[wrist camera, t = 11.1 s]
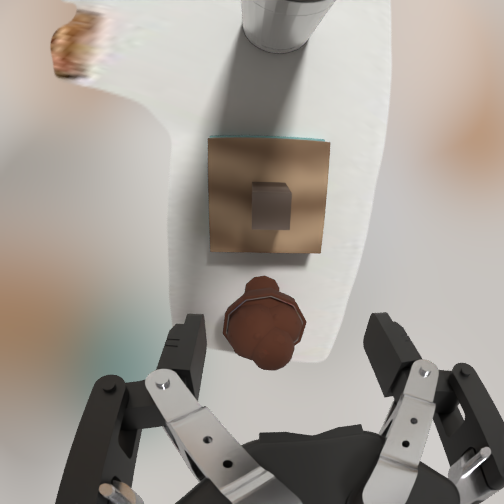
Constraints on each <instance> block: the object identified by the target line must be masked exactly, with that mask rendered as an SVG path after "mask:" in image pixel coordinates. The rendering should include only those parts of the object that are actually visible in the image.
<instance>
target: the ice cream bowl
mask: <svg viewBox="0 0 504 504" xmlns="http://www.w3.org/2000/svg"><path fill="white" fill-rule="evenodd" d="M305 325H306V320H305V318H304V316H303V314H302V313H301V311H300V309H299V307H298V305H297V303H296V302H295V300H294V298H292V297H290V296H288V295H286V294H284V293H281V292H279V287H278V285H277V283H276V281H275V280H274V279H271V278H269V277H267V276H260V277H254V278H253V279H252V280H250V281H249V282H248V283H247V284H246V288H245V293H244V294H243V295H242V296H241V297H240V298H239V299H237V300H236V301H235V302H234V303H233V304H232V305H231V306H229V307H228V309H227V311H226V313H225V319H224V328H223V335H224V336H225V337H226V339H227V340H228V342H229V343H230V345H231V346H232V347H233V349H234V351H235V353H237V354H238V355H239V356H242V357H244V358H247V359H250V360H253V361H254V362H255V363H256V365H257V366H258V367H259V368H261V369H263V370H278V369H280V368H282V367H284V366H285V365H286V364H287V363H288V362H289V361H290V360H291V358H292V355H293V352H294V346H295V345H296V344H297V343H299V342H300V341H301V338H302V335H303V332H304V328H305Z"/></svg>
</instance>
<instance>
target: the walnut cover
mask: <svg viewBox="0 0 504 504" xmlns="http://www.w3.org/2000/svg"><path fill="white" fill-rule="evenodd" d="M329 156H330V142H324V141H314V140H300V139H281V138H246V137H224V138H208V192H209V227H210V252H256V253H321V245H322V237H323V227H324V218H325V207H326V196H327V184H328V171H329Z"/></svg>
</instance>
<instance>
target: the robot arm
mask: <svg viewBox="0 0 504 504" xmlns="http://www.w3.org/2000/svg"><path fill="white" fill-rule="evenodd" d="M335 1H336V0H241V8H242V22H243V29H244V33H245V35H246V37H247V38H248V39H249V41H250V42H251V43H252V44H254V45H255V46H256V47H258V48H260V49H262V50H265V51H268V52H272V53H287V52H292V51H294V50H296V49H298V48H300V47H301V46H303V45H304V44H305V43H306V41H307V40H308V39H309V37H310V36H311V34H312V33H313V32H314V30H315V29H316V27H317V26H318V24H319V23H320V22H321V20H322V19H323V17H324V16H325V14H326V13H327V12H328V10H329V9H330V7H331V6H332V5H333V3H334V2H335ZM363 343H364V349H365V352H366V354H367V356H368V359H369V361H370V363H371V366H372V368H373V370H374V372H375V375H376V378H377V380H378V382H379V385H380V387H381V390H382V392H383V395H384V397H389V396H393V397H394V401H393V403H392V405H391V407H390V410H389V412H388V415H387V417H386V419H385V421H384V424H383V426H382V428H381V430H380V432H379V434H376V433H373V432H369V431H363V429H362V426H361V424H359V425H353V426H345V427H338V428H335V429H332V430H329V431H326V432H323V433H321V434H318V435H313V436H311V435H303V434H295V433H289V432H270V433H260V434H259V439H258V440H254V441H251V442H248V443H246V444H243V445H240V444H239V443H238V442H237V441H236V440H235V438H234V437H233V436H232V435H231V434H230V433H229V432H228V431H227V429H226V428H225V427H224V426H223V425H222V424H221V422H220V421H219V420H218V419H217V418H216V417H215V416H214V414H213V413H212V412H211V411H210V409H209V408H207V407H206V406H204V407H202V406H201V405H200V404H199V403H198V397H199V391H200V385H201V379H202V373H203V367H204V361H205V355H206V346H207V341H206V330H205V320H204V315H203V314H187V317H186V320H185V323H184V324H176V325H175V326H174V327H173V328H172V329H171V330H170V331H169V334H168V337H167V340H166V342H165V346H164V348H163V351H162V354H161V357H160V360H159V363H158V366H157V369H156V370H155V371H153V372H151V373H150V374H149V375H148V376H147V378H146V379H145V380H142V381H137V382H129V383H125V382H124V380H123V379H122V378H121V377H119V376H117V375H106V376H103V377H101V378H100V379H98V380H97V381H96V383H95V384H94V387H93V389H92V392H91V394H90V397H89V399H88V402H87V405H86V407H85V410H84V413H83V415H82V418H81V421H80V423H79V426H78V429H77V432H76V435H75V438H74V441H73V444H72V447H71V450H70V453H69V456H68V459H67V463H66V466H65V469H64V473H63V476H62V480H61V483H60V487H59V491H58V494H57V498H56V503H55V504H144V502H143V500H142V498H141V497H140V496H139V495H137V493H136V492H134V491H133V490H132V489H131V487H132V481H133V475H134V469H135V463H136V458H137V452H138V447H139V442H140V436H141V432H142V429H144V428H152V427H159V426H162V427H163V429H164V430H165V432H166V433H167V435H168V436H169V438H170V439H171V441H172V443H173V444H174V446H175V447H176V449H177V450H178V452H179V453H180V455H181V456H182V458H183V460H184V461H185V463H186V465H187V466H188V468H189V469H190V470H191V472H192V473H193V475H194V476H195V477H196V479H197V480H198V481H199V483H198V484H197V485H196V486H195V487H194V488H193V489H192V490H191V491H190V492H188V493H187V494H186V495H185V496H184V497H182V498H181V499H180V500H179V501H178V502H176V503H175V504H479V503H481V502H483V501H484V500H486V499H487V498H489V497H490V496H492V495H493V494H495V493H496V492H497V491H499V490H500V489H502V488H503V487H504V422H503V420H502V418H501V416H500V414H499V412H498V410H497V408H496V406H495V404H494V403H493V401H492V399H491V397H490V396H489V394H488V392H487V390H486V388H485V387H484V385H483V383H482V382H481V380H480V378H479V377H478V375H477V373H476V371H475V370H474V369H473V367H471V366H470V365H468V364H466V363H458V364H456V365H455V366H454V367H453V369H452V371H444V370H438V368H437V366H436V365H435V364H434V363H432V362H431V361H428V360H423V359H422V358H421V356H420V354H419V353H418V351H417V349H416V348H415V346H414V345H413V343H412V341H411V340H410V338H409V336H407V333H406V332H405V330H404V328H403V327H402V326H400V325H399V324H398V323H396V322H393V321H392V320H391V318H390V316H389V315H388V313H386V312H384V313H372V314H371V316H370V319H369V322H368V325H367V329H366V332H365V335H364V341H363ZM459 403H460V404H461V406H462V408H463V411H464V413H465V420H463V417H462V415H461V413H460V411H459V409H458V407H457V406H458V404H459ZM432 419H433V420H434V423H435V425H436V428H437V431H438V433H439V436H440V439H441V441H442V444H443V447H444V450H445V452H446V455H447V458H448V461H449V464H450V469H449V473H448V478H446V477H445V476H443V475H441V474H439V473H438V472H436V471H435V470H433V469H432V468H430V467H428V466H427V465H425V464H424V463H422V462H421V461H420V459H421V456H422V453H423V449H424V447H425V444H426V440H427V437H428V434H429V430H430V426H431V423H432Z"/></svg>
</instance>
